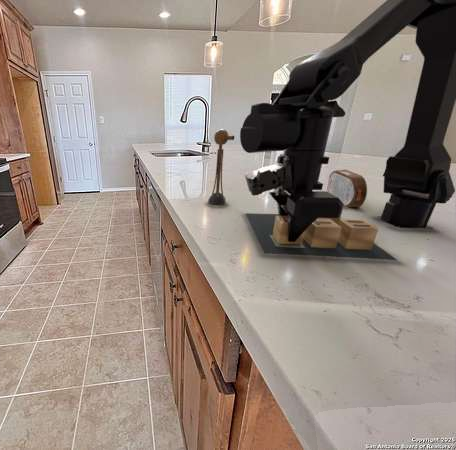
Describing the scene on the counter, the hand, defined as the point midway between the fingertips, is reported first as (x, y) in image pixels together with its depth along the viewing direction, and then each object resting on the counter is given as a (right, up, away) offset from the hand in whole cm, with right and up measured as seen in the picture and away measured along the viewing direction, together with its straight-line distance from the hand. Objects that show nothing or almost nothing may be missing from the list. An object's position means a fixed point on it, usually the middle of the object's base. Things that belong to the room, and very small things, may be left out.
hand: (287, 236), depth 45 cm
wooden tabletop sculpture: (-7, +8, +23) cm, 26 cm away
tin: (+26, +8, +21) cm, 35 cm away
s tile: (0, -1, 0) cm, 1 cm away
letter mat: (+6, 0, +4) cm, 7 cm away
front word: (+8, -1, -1) cm, 8 cm away
